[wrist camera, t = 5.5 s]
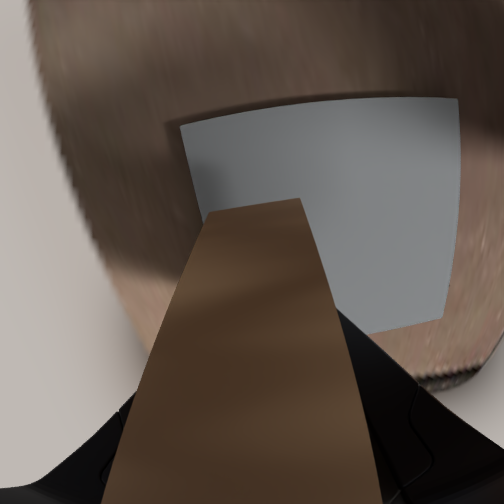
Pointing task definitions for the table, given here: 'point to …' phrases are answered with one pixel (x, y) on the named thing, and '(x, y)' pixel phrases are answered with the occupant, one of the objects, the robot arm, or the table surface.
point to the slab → (248, 378)
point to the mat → (349, 192)
